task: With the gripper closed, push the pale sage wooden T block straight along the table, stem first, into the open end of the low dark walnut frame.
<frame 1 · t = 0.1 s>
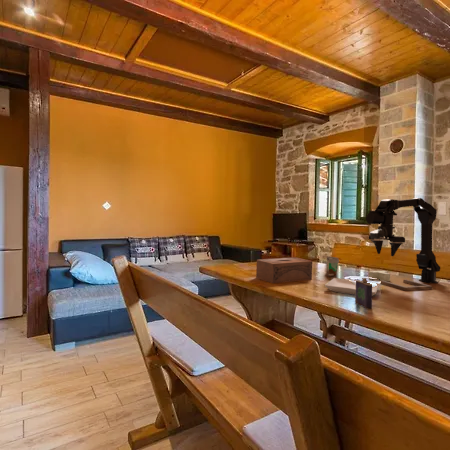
hand: (385, 255, 162), 15 cm above the table, tool pointing down, fingers open, 9 cm apart
T block: (381, 279, 173), on the table
tissue box cover: (283, 279, 170), on the table
flask: (363, 306, 123), on the table
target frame: (404, 285, 158), on the table
food container: (332, 275, 182), on the table
salad plate: (352, 291, 147), on the table
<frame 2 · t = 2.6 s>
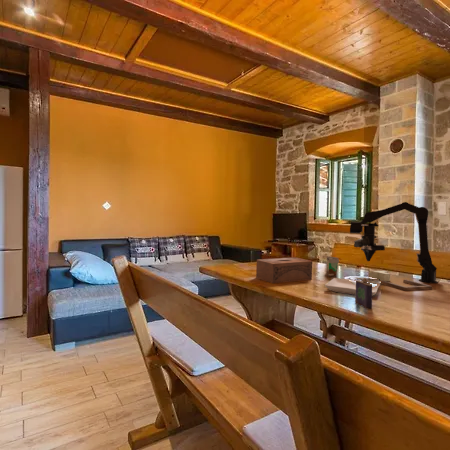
hand: (368, 261, 183), 8 cm above the table, tool pointing down, fingers closed
nothing on the table moved.
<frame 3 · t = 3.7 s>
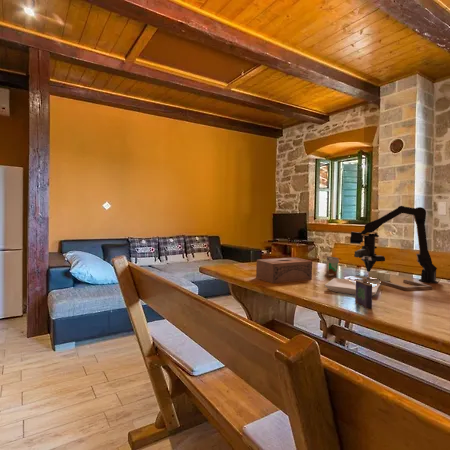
hand: (368, 271, 183), 2 cm above the table, tool pointing down, fingers closed
nothing on the table moved.
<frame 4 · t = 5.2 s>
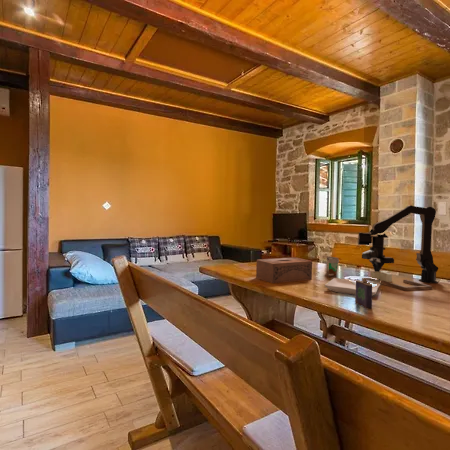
hand: (376, 273, 177), 2 cm above the table, tool pointing down, fingers closed
T block: (383, 280, 172), on the table, touching gripper
everything else where it was.
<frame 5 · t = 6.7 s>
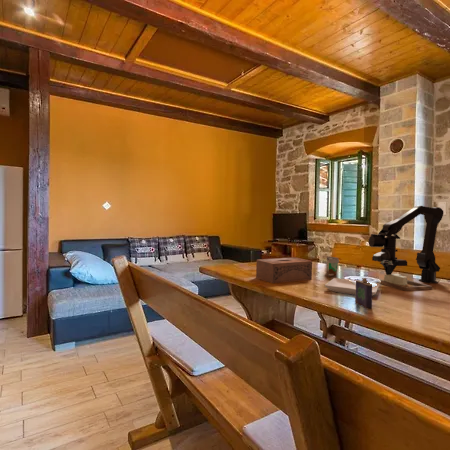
hand: (388, 276, 168), 3 cm above the table, tool pointing down, fingers closed
T block: (397, 283, 164), on the table, touching gripper
everything else where it was.
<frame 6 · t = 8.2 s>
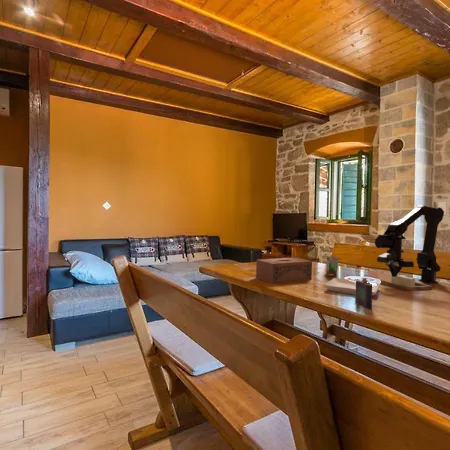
hand: (393, 278, 165), 3 cm above the table, tool pointing down, fingers closed
T block: (404, 285, 160), on the table, touching gripper
everything else where it was.
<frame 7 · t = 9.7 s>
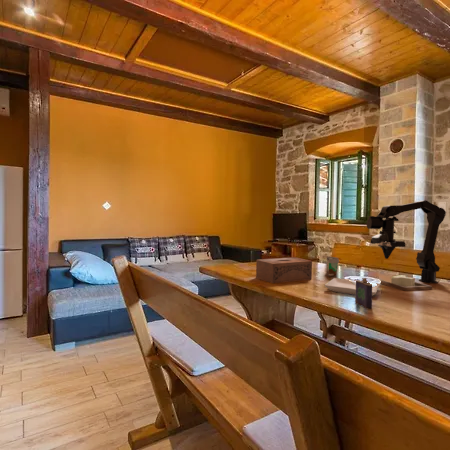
hand: (386, 258, 170), 12 cm above the table, tool pointing down, fingers closed
T block: (404, 285, 160), on the table
everything else where it was.
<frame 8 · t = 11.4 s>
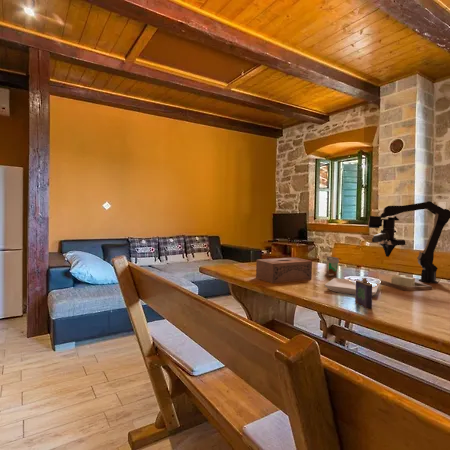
hand: (387, 256, 177), 12 cm above the table, tool pointing down, fingers closed
nothing on the table moved.
at the end: T block 2.5 cm off-centre on the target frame, point 0.0 cm above the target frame's base; T block moved 13.6 cm from its start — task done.
